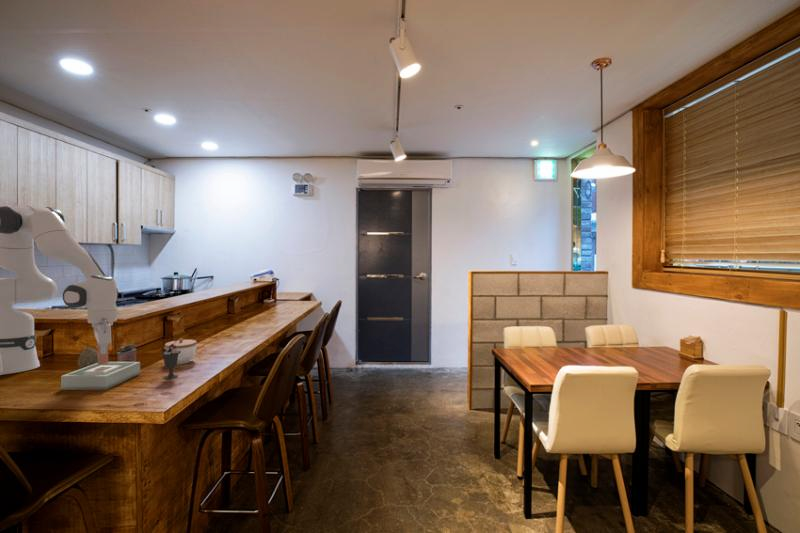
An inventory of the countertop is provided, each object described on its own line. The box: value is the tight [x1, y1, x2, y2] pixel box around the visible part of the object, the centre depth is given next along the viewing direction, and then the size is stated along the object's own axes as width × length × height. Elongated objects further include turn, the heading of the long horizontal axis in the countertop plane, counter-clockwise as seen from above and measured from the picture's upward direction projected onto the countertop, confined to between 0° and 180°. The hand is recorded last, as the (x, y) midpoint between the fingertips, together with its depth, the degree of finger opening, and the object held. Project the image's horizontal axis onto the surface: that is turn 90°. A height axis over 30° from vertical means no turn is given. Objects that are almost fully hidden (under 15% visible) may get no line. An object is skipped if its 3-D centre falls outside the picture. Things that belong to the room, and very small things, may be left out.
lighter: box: [116, 343, 137, 362], centre depth 158 cm, size 8×3×10 cm, turn 168°
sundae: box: [160, 339, 180, 380], centre depth 146 cm, size 7×7×15 cm
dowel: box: [96, 341, 109, 364], centre depth 141 cm, size 3×3×10 cm
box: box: [60, 361, 141, 391], centre depth 141 cm, size 16×18×5 cm
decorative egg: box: [77, 346, 98, 369], centre depth 153 cm, size 7×7×10 cm
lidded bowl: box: [164, 337, 198, 365], centre depth 167 cm, size 13×13×11 cm
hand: (102, 352), depth 141 cm, fingers closed on dowel, 3 cm apart
